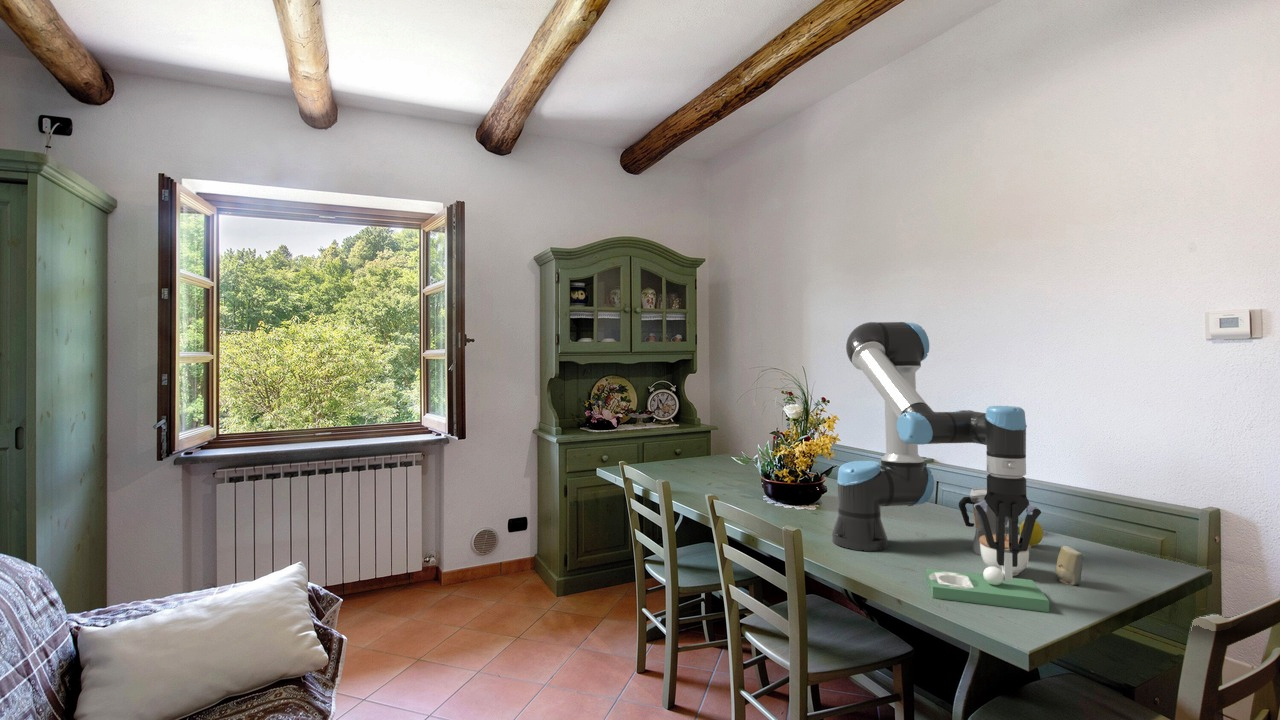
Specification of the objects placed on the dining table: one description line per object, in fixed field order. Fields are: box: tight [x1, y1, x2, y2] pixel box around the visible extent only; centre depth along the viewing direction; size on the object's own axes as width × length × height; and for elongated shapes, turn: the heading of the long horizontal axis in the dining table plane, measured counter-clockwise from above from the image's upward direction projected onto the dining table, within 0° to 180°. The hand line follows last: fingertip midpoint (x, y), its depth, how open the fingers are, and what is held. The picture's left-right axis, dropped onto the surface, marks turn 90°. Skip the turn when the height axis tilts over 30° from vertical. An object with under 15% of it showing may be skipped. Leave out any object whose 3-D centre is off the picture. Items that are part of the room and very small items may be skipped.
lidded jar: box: [979, 534, 1031, 577], centre depth 144 cm, size 11×11×9 cm
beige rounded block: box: [1055, 545, 1085, 587], centre depth 137 cm, size 6×5×8 cm
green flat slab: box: [925, 568, 1050, 613], centre depth 130 cm, size 22×12×2 cm, turn 70°
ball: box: [982, 566, 1004, 585], centre depth 130 cm, size 4×4×4 cm
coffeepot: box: [958, 495, 1009, 556], centre depth 158 cm, size 15×9×18 cm, turn 90°
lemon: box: [1018, 520, 1044, 547], centre depth 164 cm, size 6×6×8 cm
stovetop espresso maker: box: [969, 487, 987, 529], centre depth 181 cm, size 10×10×12 cm
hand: (1007, 579), depth 129 cm, fingers closed
